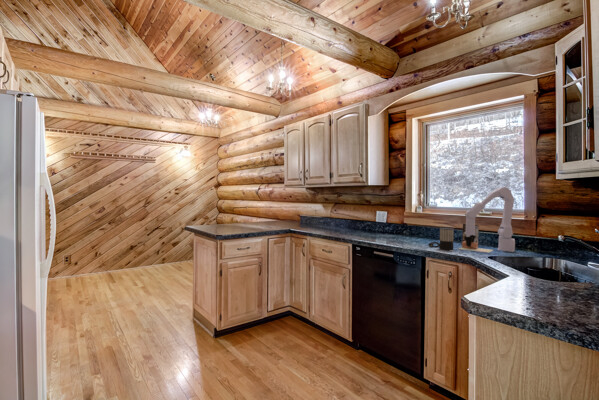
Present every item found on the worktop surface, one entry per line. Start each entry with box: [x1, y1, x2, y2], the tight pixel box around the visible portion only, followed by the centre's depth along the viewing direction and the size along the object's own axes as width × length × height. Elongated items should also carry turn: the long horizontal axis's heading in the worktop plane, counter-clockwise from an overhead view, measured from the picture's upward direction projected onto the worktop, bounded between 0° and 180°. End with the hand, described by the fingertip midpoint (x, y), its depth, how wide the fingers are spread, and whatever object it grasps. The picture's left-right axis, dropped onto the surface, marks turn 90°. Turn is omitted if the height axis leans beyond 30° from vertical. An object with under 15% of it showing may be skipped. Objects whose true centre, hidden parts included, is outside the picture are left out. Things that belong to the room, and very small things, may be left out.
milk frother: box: [428, 227, 455, 251], centre depth 215 cm, size 14×16×15 cm
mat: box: [458, 246, 494, 254], centre depth 211 cm, size 19×15×1 cm
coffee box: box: [461, 223, 480, 244], centre depth 232 cm, size 9×6×16 cm
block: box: [461, 241, 479, 249], centre depth 217 cm, size 9×5×4 cm, turn 48°
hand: (469, 245), depth 217 cm, fingers open, 5 cm apart
